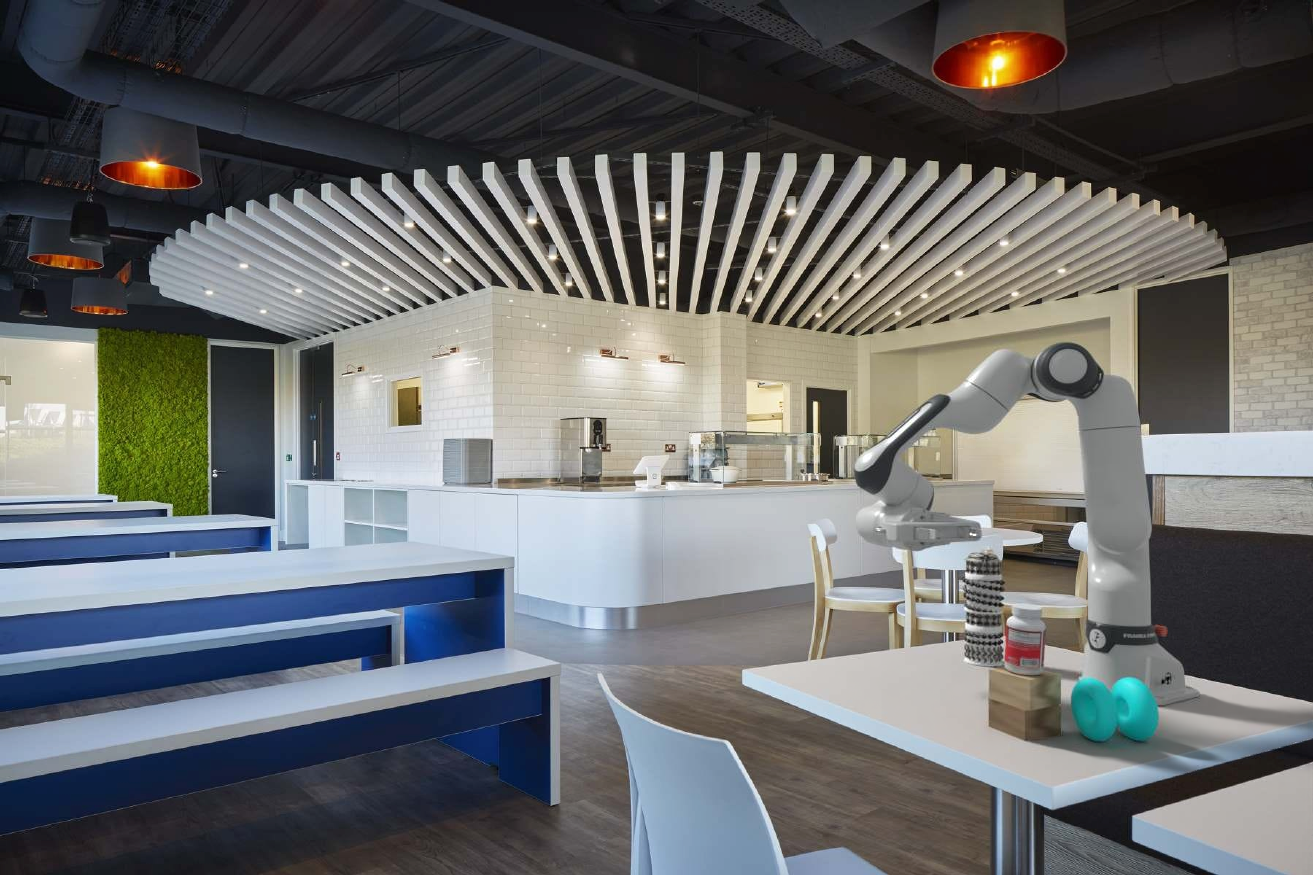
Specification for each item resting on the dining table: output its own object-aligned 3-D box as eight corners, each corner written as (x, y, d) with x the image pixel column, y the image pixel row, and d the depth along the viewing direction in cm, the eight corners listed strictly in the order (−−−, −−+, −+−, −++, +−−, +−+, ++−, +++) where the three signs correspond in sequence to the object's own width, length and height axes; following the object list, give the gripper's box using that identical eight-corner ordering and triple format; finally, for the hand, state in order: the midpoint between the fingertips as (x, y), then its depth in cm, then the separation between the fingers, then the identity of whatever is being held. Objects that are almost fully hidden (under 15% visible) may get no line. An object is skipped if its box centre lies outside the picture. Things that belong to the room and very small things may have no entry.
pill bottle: (1018, 663, 146) (1022, 600, 145) (1051, 673, 140) (1055, 608, 140) (995, 667, 142) (999, 603, 142) (1028, 678, 137) (1032, 611, 137)
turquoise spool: (1163, 748, 133) (1162, 685, 133) (1103, 749, 132) (1103, 686, 132) (1123, 729, 143) (1122, 670, 143) (1067, 730, 142) (1066, 671, 142)
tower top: (1019, 692, 147) (1019, 664, 147) (1061, 704, 140) (1060, 674, 140) (989, 698, 143) (988, 669, 143) (1029, 710, 136) (1029, 679, 136)
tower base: (1024, 722, 146) (1023, 693, 146) (1061, 736, 139) (1061, 705, 139) (988, 726, 143) (988, 697, 143) (1024, 741, 136) (1024, 710, 136)
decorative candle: (984, 668, 185) (984, 556, 186) (953, 659, 194) (953, 552, 195) (1014, 664, 189) (1013, 554, 190) (982, 656, 198) (982, 551, 199)
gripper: (869, 513, 167) (913, 518, 154) (952, 513, 174) (1000, 517, 161) (869, 545, 166) (913, 552, 153) (952, 543, 173) (1000, 550, 160)
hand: (958, 534), depth 157 cm, fingers open, 8 cm apart
